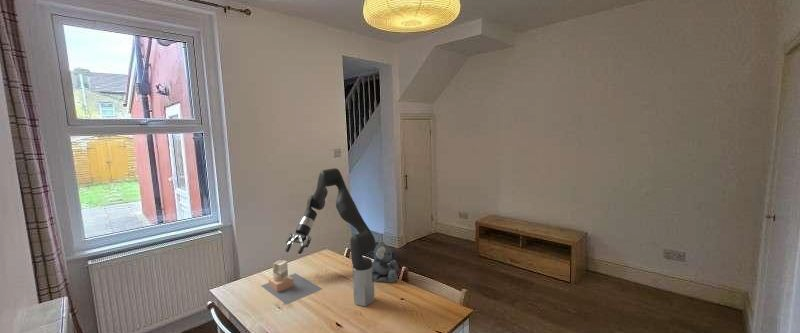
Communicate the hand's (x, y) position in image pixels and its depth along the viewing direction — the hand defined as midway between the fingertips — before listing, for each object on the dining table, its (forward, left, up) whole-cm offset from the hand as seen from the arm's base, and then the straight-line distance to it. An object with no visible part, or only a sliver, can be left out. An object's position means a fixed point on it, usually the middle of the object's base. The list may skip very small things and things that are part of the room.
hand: (292, 252), depth 175 cm
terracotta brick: (-4, +10, -15) cm, 18 cm away
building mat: (-9, +7, -15) cm, 19 cm away
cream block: (-4, +9, -11) cm, 15 cm away
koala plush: (-35, -34, -16) cm, 52 cm away
